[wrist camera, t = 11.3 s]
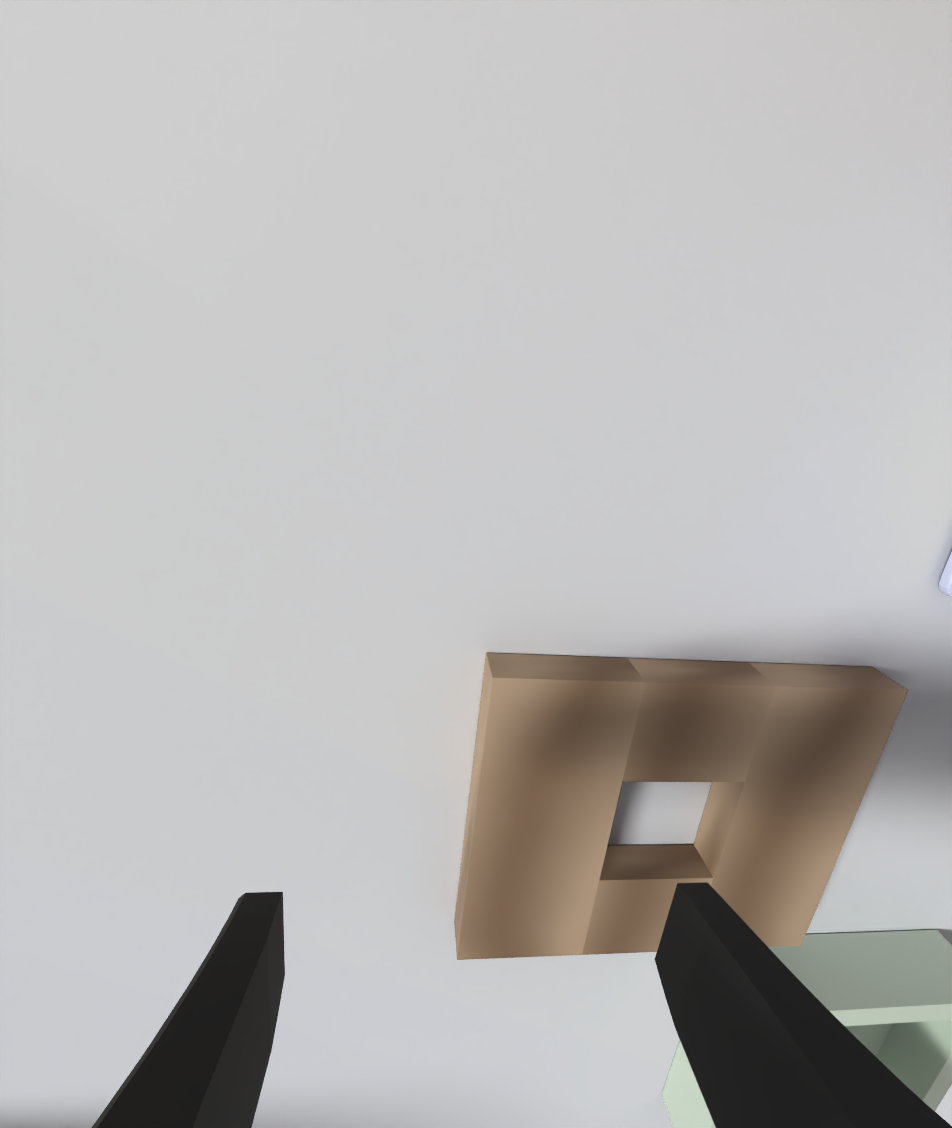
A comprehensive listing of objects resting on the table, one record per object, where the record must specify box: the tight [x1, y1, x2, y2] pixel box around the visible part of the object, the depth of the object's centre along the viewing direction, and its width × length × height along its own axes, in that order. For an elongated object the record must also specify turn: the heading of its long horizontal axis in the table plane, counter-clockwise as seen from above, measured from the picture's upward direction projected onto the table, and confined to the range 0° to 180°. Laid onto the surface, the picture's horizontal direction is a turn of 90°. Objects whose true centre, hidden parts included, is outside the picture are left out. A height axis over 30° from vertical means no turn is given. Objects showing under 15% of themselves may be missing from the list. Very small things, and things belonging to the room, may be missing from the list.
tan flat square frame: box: [454, 653, 908, 960], centre depth 20 cm, size 14×12×2 cm
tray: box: [661, 930, 952, 1128], centre depth 25 cm, size 11×11×3 cm
